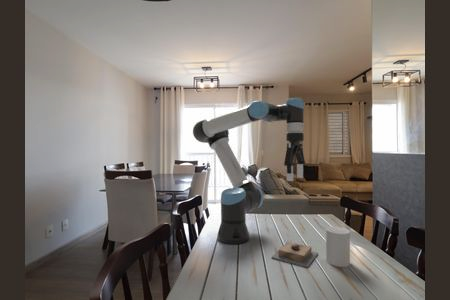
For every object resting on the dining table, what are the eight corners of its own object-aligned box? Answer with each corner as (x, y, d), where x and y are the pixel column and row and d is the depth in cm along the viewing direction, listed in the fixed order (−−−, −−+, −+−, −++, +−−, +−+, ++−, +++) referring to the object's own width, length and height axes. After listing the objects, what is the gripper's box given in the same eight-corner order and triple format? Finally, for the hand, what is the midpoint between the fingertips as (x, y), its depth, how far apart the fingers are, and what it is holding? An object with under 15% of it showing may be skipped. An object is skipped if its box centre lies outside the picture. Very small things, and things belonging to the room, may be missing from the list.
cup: (352, 267, 91) (352, 234, 91) (328, 265, 92) (328, 233, 92) (346, 258, 99) (346, 227, 99) (324, 256, 100) (324, 226, 100)
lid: (278, 256, 99) (278, 246, 99) (287, 247, 108) (287, 239, 108) (303, 262, 94) (303, 252, 94) (311, 253, 102) (311, 244, 102)
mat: (271, 258, 99) (271, 256, 99) (284, 246, 110) (284, 245, 110) (307, 267, 91) (307, 266, 91) (317, 254, 103) (317, 252, 103)
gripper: (293, 130, 103) (293, 183, 103) (311, 133, 124) (311, 177, 124) (276, 131, 107) (276, 181, 108) (296, 134, 128) (296, 176, 128)
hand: (295, 179), depth 116 cm, fingers open, 13 cm apart
